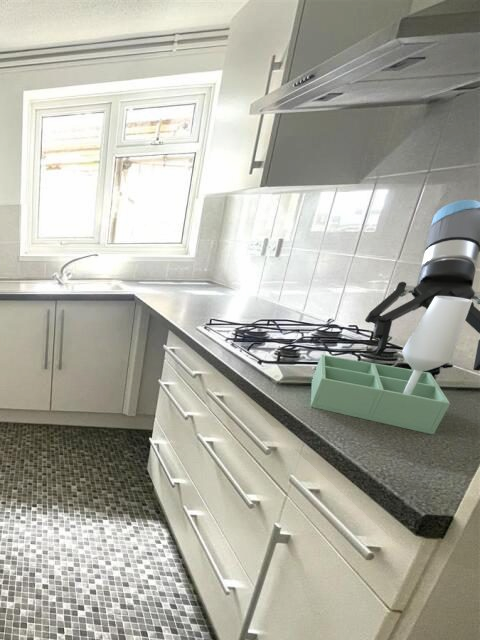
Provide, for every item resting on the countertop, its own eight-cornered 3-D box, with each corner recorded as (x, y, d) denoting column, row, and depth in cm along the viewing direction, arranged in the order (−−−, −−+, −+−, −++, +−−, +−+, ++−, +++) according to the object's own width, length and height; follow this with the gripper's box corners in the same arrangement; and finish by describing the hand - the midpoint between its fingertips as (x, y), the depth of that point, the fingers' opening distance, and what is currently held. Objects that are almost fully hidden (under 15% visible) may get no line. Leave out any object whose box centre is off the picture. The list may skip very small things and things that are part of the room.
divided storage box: (416, 400, 94) (430, 372, 92) (433, 434, 81) (450, 403, 78) (311, 379, 105) (321, 354, 102) (310, 406, 91) (321, 378, 88)
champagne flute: (371, 403, 91) (421, 293, 81) (412, 409, 88) (469, 297, 78) (382, 416, 85) (436, 300, 75) (426, 424, 82) (489, 304, 73)
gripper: (529, 288, 81) (514, 383, 76) (360, 274, 95) (338, 354, 90) (556, 263, 75) (542, 364, 70) (371, 252, 89) (349, 337, 84)
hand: (427, 359), depth 80 cm, fingers open, 13 cm apart
